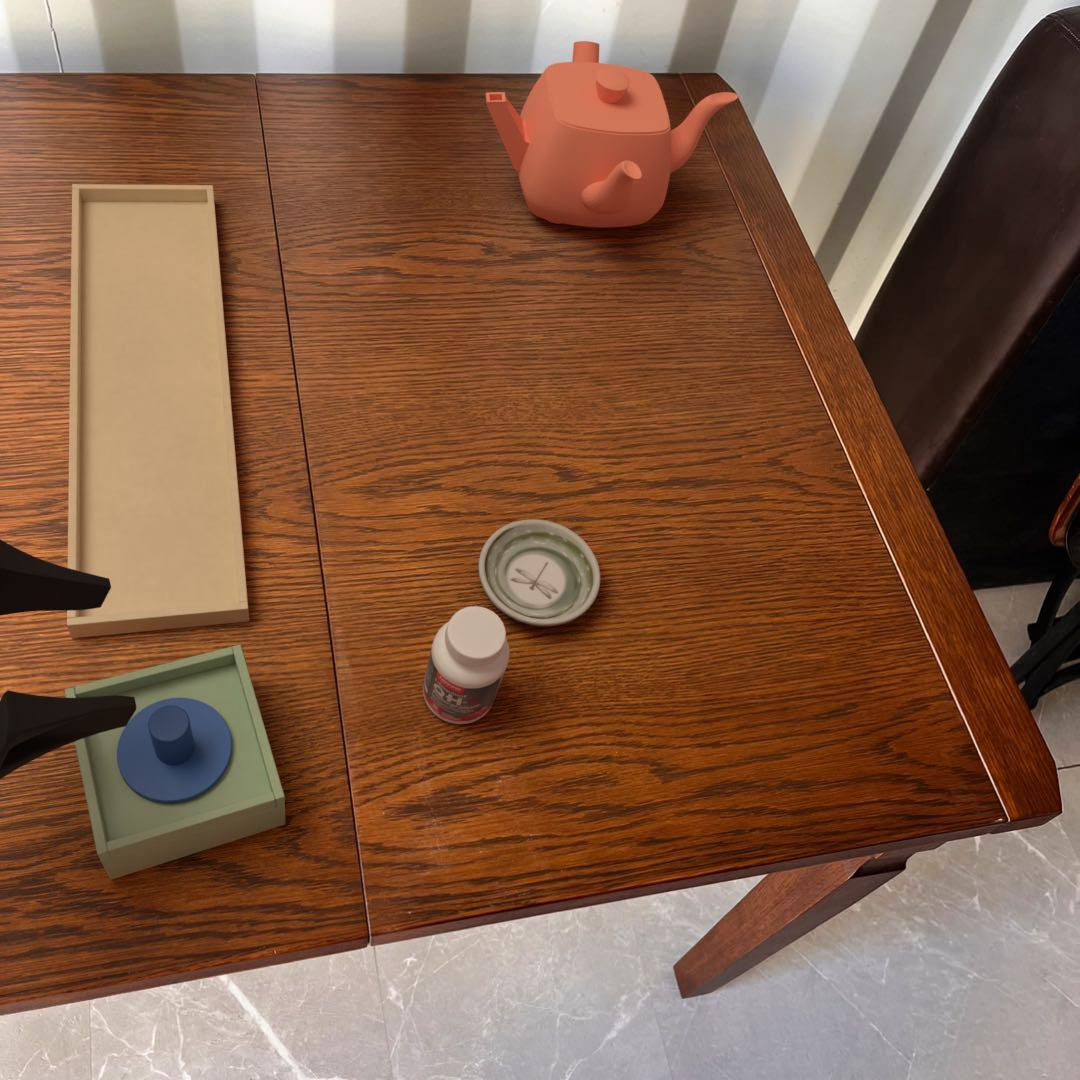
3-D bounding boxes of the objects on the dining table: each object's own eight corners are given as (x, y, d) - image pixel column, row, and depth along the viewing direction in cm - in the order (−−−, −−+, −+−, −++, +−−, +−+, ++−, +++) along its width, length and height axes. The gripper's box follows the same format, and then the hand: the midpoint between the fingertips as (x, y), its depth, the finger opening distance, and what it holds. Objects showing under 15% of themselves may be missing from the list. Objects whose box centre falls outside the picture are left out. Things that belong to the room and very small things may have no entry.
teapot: (699, 201, 116) (743, 87, 105) (603, 284, 107) (640, 169, 95) (564, 115, 120) (593, -4, 109) (460, 188, 110) (479, 66, 99)
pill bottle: (421, 725, 78) (435, 665, 70) (422, 658, 81) (436, 593, 73) (495, 728, 79) (518, 669, 71) (494, 661, 82) (515, 598, 74)
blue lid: (130, 818, 67) (120, 793, 63) (108, 718, 70) (97, 688, 66) (243, 784, 70) (240, 758, 66) (217, 688, 73) (213, 658, 69)
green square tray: (110, 880, 69) (97, 854, 64) (78, 723, 74) (63, 688, 69) (285, 824, 73) (284, 796, 68) (243, 678, 78) (240, 643, 73)
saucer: (605, 554, 89) (612, 538, 87) (579, 654, 84) (586, 640, 82) (493, 519, 89) (497, 502, 87) (460, 616, 84) (464, 601, 82)
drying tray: (249, 621, 80) (248, 608, 78) (71, 638, 77) (66, 625, 75) (214, 201, 103) (212, 184, 101) (75, 201, 99) (72, 183, 98)
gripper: (-156, 758, 45) (167, 732, 54) (-174, 485, 52) (115, 501, 61) (-179, 831, 49) (123, 796, 58) (-193, 570, 56) (80, 574, 65)
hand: (117, 650), depth 60 cm, fingers open, 7 cm apart
